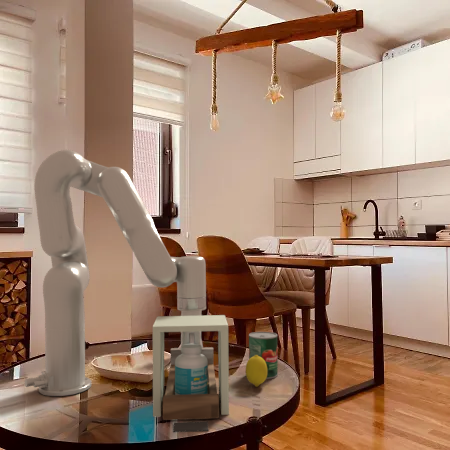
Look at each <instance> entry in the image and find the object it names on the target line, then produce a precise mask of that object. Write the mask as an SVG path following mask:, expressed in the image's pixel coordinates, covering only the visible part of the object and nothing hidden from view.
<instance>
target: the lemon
mask: <svg viewBox="0 0 450 450" xmlns="http://www.w3.org/2000/svg"><path fill="white" fill-rule="evenodd" d="M245 376H246V379H247V380H248V382H249V383H250V384H253V386H254V387H256V388H257V387H259V386H260V385H262V384H263V383H264V382H265V381H266V380H267V379H266V377H267V365H266V362H265V360H264V359H263V358H261V357H259V356H258V355H255V356H253V357H251V358H250V359H249V358H248V360H247V362H246V366H245Z"/></svg>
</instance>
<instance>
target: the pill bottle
mask: <svg viewBox="0 0 450 450" xmlns="http://www.w3.org/2000/svg"><path fill="white" fill-rule="evenodd" d="M180 348H181V352H182V354H181V355H179V356H178V357H177V358H176V360H175V395H187V394H208V361H207V358H206V357H205V356H204V355H202V354H201V351H202V346H201V345H199V344H184V345H182V346H181V345H180Z"/></svg>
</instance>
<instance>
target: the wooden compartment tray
mask: <svg viewBox="0 0 450 450" xmlns="http://www.w3.org/2000/svg"><path fill="white" fill-rule="evenodd" d="M181 354H182V352H181V347H174V348H173V347H172V348H170V367H169V371H168V378H167V382H166V389H165V391H164V395H163V407H162V421H170V420H176V421H177V420H193V419H194V420H200V419H201V420H202V419H205V420H206V419H219V417H220V400H219V393H218V388H217V381H216V375H215V373H216V372H215V366H214V347H212V346H211V347H209V346H208V347H207V346H206V347H204V346H203V348H202V351H201V354H202V355H204V356H205V357H206V358H207V361H208V394H187V395H175V360H176V358H177V357H178V356H179V355H181Z"/></svg>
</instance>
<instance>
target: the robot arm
mask: <svg viewBox="0 0 450 450" xmlns="http://www.w3.org/2000/svg"><path fill="white" fill-rule="evenodd" d="M33 185H34V186H33V187H34V188H33V189H34V197H35V198H34V199H35V205H36V214H37V215H36V216H37V221H38V222H37V223H38V230H39V237H40V239H39V240H40V247H41V248H42V249H41V250H43V252H44V253H45V254H47V256H50V259H51V260H50V261H51V268H50V269H49V270H48V271H47V272H46V274H45V276H44V278H43V280H42V281H43V282H42V295H43V296H42V297H43V304H44V305H43V306H44V329H45V330H44V332H45V333H44V337H45V340H44V341H45V344H44V345H45V347H44V348H45V349H44V351H45V352H44V353H45V355H44V357H45V358H44V359H45V360H44V361H45V363H44V364H45V365H44V369H45V370H41V374H39V375H38V376H37V377H29V378H25V379H24V386H25V388H29V387H33V388H34V389H35V388H38V392H39V393H40V394H41V395H44V396H49V397H62V396H63V397H65V396H71V395H75V394H80V393H83V392H85V391H87V390H88V389H90V388H91V387H92V379H90V378H89V377H86V329H85V328H86V325H85V322H86V321H85V319H86V317H85V316H86V315H85V299H84V298H85V297H84V295H85V294H84V292H85V290H86V289H87V287H88V286H89V284H90V279H91V278H90V277H91V276H90V267H89V262H88V261H89V260H88V255H87V254H88V253H87V252H88V251H87V246H86V239H85V236H84V235H85V234H84V232H83V231H82V229H81V228H80V227H79V226H78V225H77V224H76V222H75V219H74V212H73V203H72V198H71V194H70V192H71V191H70V190H71V188H73V189H77V190H80V191H83V192H85V193H89V194H91V195H95V196H97V197H101V198H103V201H104V202H105V203H106V206H107V207H108V209H109V211H110V213H111V214H112V216H113V218H114V220H115V222H116V224H117V226H118V228H119V229H120V231H121V233H122V235H123V237H124V239H125V240H126V242H127V243H128V245H129V247H130V249H131V250H132V252H133V254H134V256H135V258H136V260H137V262H138V263H139V266H140V267H141V269H142V271H143V274H145V276H146V278H147V280H148V281H149V283H150V284H152V285H153V286H155V287H156V288H168V287H169V286H171V285H172V284H173V283H176V287H177V290H176V292H177V293H176V294H177V295H176V299H177V303H176V304H177V310H178V311H180V312H181V314H180V316H202V313H201V312H202V311H205V310H206V309H207V293H206V292H207V280H206V279H207V277H206V275H207V274H206V273H207V272H206V270H207V269H206V268H207V267H206V266H207V265H206V259H205V258H204V257H202V256H195V255H194V256H193V255H191V256H190V255H187V256H186V255H185V256H181V257H178V256H177V257H176V256H171V255H170V253H169V252H168V250H167V248H166V246H165V243H164V242H163V240H162V238H161V237H160V235H159V233H158V230H157V228H156V226H155V222H154V219H153V218H152V215H151V213H150V212H149V209H148V208H147V206H146V204H145V202H144V201H143V199H142V197H141V196H140V194H139V191H138V189H137V188H136V186H135V184H134V183H133V181H132V179H131V177H130V176H129V173H128V172H127V171H126V170H125V169H123V168H121V167H119V166H109V167H108V166H105V165H102V164H98V163H97V162H93V161H91V160H89V159H86V158H84V156H82V154H80V153H79V152H77V151H74V150H71V149H61V150H58V151H54V152H53V153H52V154H50V155H49V156H47V157H46V158H45V159H44V160H43V161H42V162H41V163H40V165H39V167H38V168H37V170H36V173H35V177H34V184H33ZM201 310H202V311H201ZM194 333H195V334H194ZM201 339H202V331H190V332H180V347H181V346H182V345H184V344H199V345H200V342H201Z"/></svg>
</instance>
